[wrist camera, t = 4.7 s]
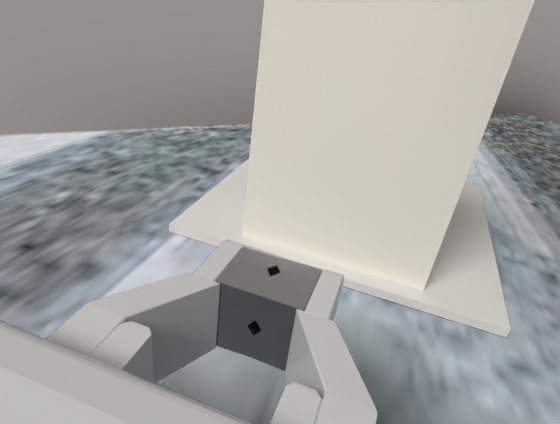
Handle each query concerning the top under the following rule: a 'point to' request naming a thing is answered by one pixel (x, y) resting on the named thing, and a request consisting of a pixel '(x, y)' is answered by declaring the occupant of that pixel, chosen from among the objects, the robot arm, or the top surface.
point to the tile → (372, 125)
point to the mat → (434, 299)
